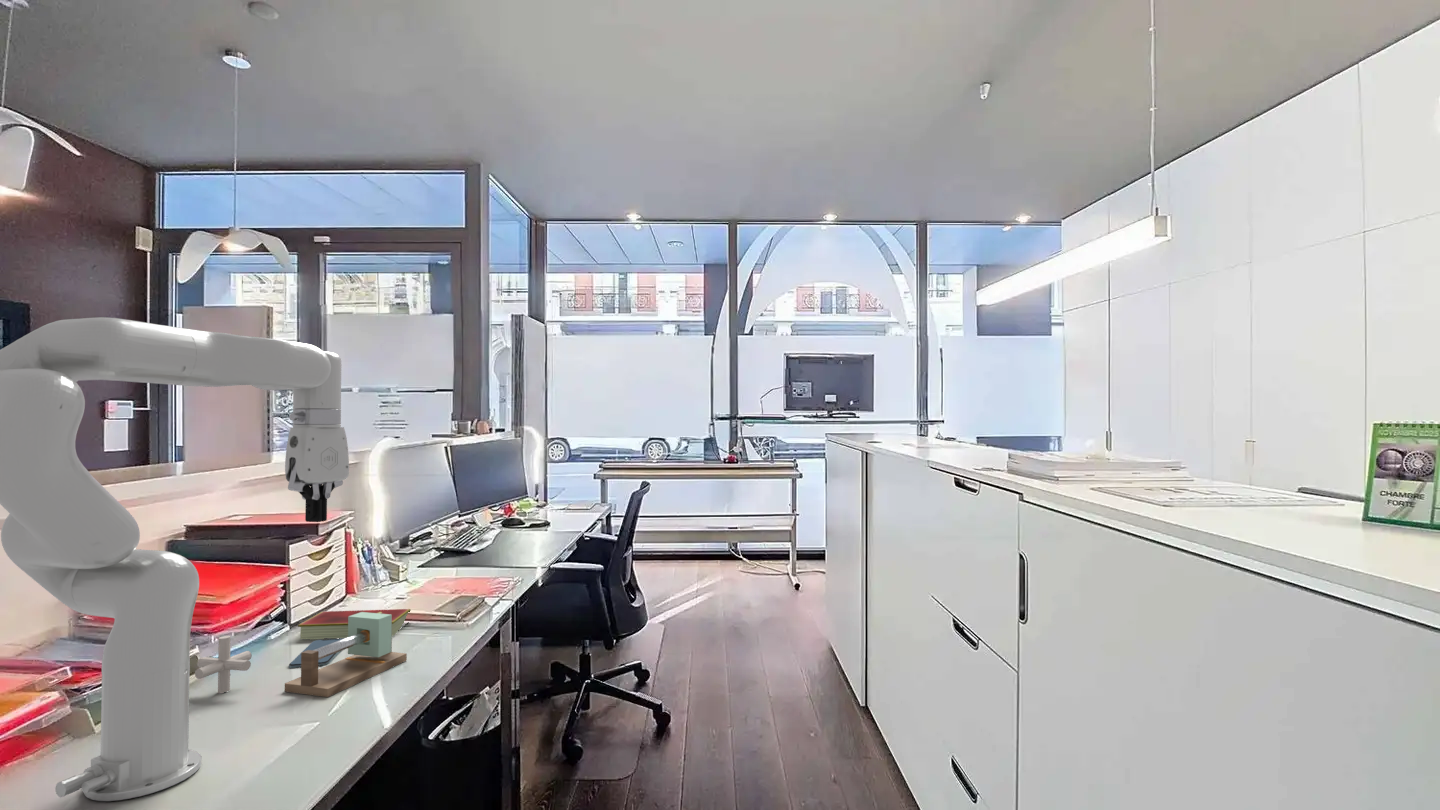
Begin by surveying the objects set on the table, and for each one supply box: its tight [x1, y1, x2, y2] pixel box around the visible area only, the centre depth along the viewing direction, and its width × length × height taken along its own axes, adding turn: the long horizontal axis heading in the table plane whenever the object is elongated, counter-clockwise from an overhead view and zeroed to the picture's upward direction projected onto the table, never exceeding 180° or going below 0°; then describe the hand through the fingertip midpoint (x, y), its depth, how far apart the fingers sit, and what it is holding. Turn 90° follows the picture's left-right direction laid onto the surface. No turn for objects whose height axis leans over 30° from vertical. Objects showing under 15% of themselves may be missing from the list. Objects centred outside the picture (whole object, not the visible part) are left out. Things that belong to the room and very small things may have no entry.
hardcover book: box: [297, 608, 412, 640], centre depth 165 cm, size 12×21×4 cm, turn 95°
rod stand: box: [284, 629, 408, 698], centre depth 136 cm, size 20×10×8 cm, turn 164°
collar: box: [347, 612, 393, 657], centre depth 141 cm, size 4×8×8 cm, turn 74°
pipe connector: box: [194, 635, 252, 694], centre depth 128 cm, size 10×10×10 cm
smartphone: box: [288, 638, 344, 669], centre depth 148 cm, size 8×2×15 cm
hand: (316, 521), depth 124 cm, fingers closed
